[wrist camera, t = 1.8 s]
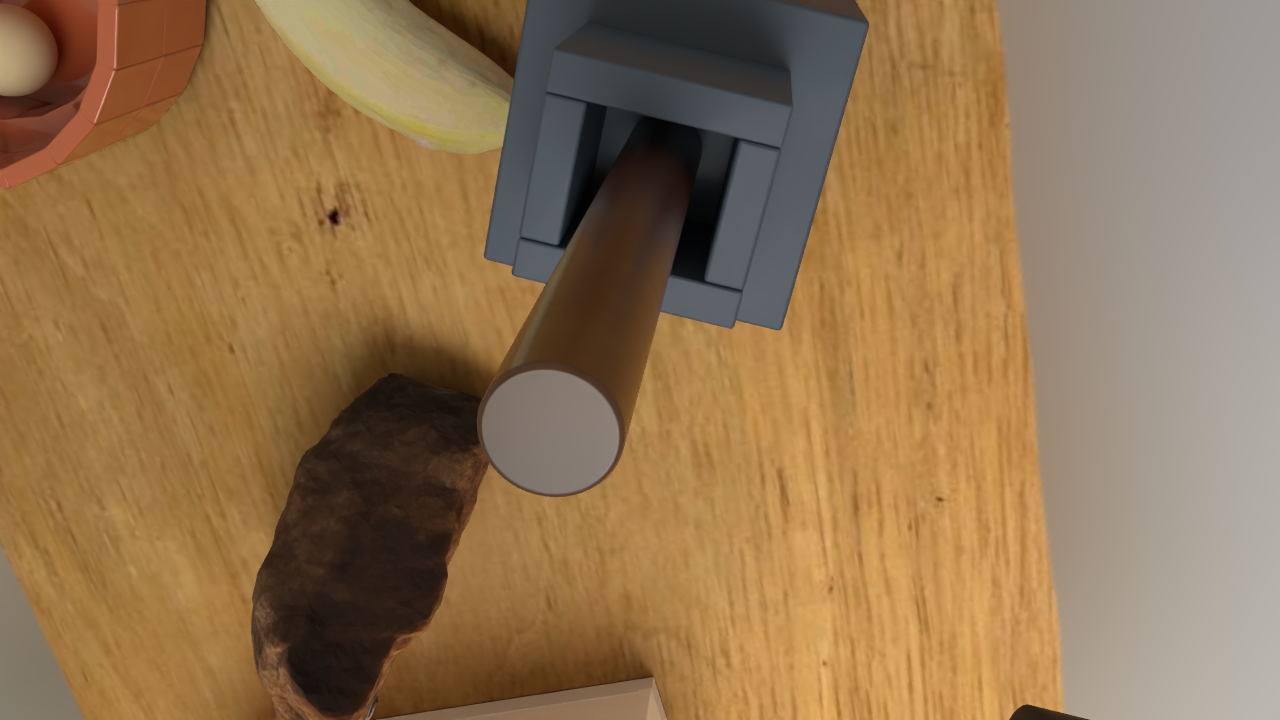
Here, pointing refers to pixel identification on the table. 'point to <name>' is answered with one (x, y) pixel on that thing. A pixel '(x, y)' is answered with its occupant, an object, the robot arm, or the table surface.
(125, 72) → the bowl
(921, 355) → the table surface
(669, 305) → the holder
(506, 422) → the stick
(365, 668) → the decorative rock
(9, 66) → the ball
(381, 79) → the fruit
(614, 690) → the white lidded box
